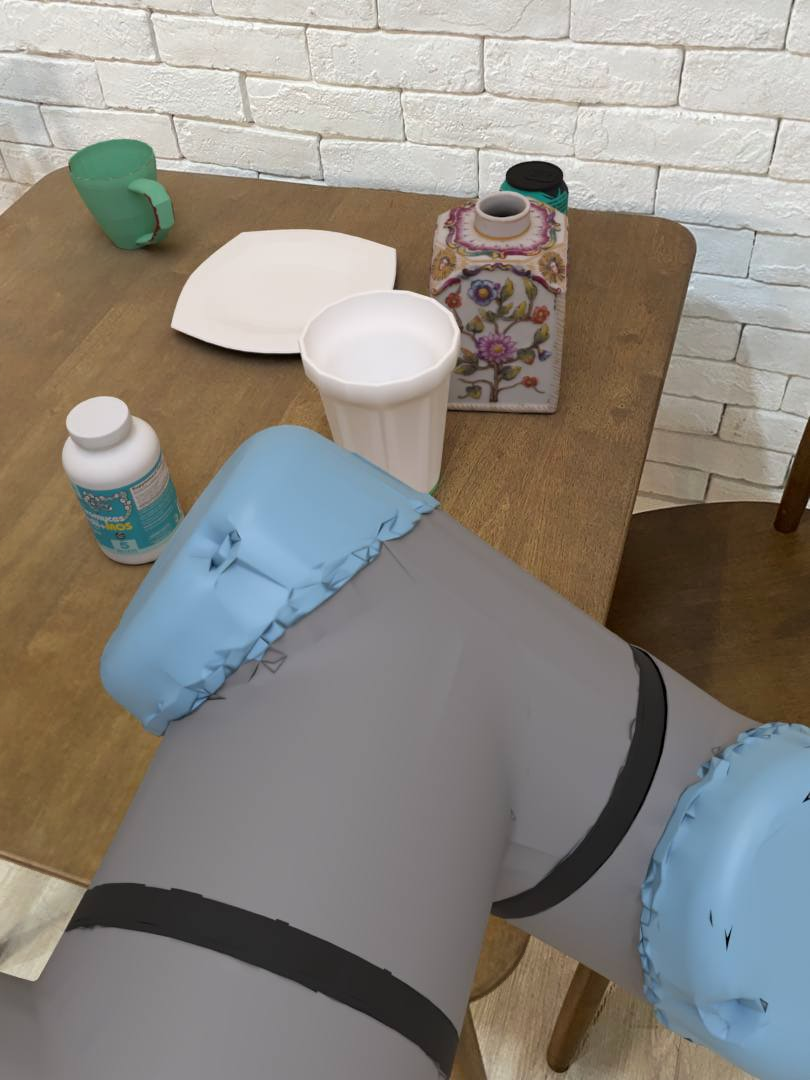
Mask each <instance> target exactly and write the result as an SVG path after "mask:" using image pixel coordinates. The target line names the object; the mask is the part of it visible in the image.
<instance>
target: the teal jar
mask: <svg viewBox="0 0 810 1080" xmlns="http://www.w3.org/2000/svg"><path fill="white" fill-rule="evenodd" d="M499 191H511V192H517V193H519V194H521V195H523V196H528V197H532V198H534V199H536V200H538V201H541V202H544V203H546V204H548V205H549V206H551V207H553V208H555V209H557V210H558V211H559V212H561V213H562V214H564V215H566V216H567V217H568V210H569V197H570V191H569V187H568V185H567V183H566V181H565V180H564V171H563V169H562V168H561V167H559V166H558V165H556V164H554V163H552V162H549V161H544V160H543V161H542V160H526V161H522V162H519V163H515V164H514V165H512V166H510V167H509V168H508V169H507V170H506V172H505V179H504V180H503V182H502V184H501V185H500V186H499V190H498V192H499Z"/></svg>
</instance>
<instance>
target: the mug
mask: <svg viewBox="0 0 810 1080" xmlns="http://www.w3.org/2000/svg"><path fill="white" fill-rule="evenodd" d="M67 164H68V167H67V172H68V175H69V178H70V180H71V182H72V183H73V186H74V187H75V190H76V191H77V193H78V194H79V196H80V198H81V199H82V201H83V203H84V204H85V206H86V207H87V209H88V211H89V213H90V214H91V215H92V216H93V218H94V219H95V221H96V222H97V224H98V225H99V226H100V228H101V229H102V231H104V233H105V234H106V235H107V236H108V237H109V239H110V240H111V241H112V242H113V244H114V245H115V246H116V247H117V248H119V249H122V250H136V249H137V250H138V249H141V248H144V247H146V246H147V245H156V244H159V243H162V242H164V241H165V240H166V238H167V237H168V236H169V233H170V231H171V229H172V228H173V225H174V223H175V222H176V216H175V210H174V205H173V200H172V197H171V196H170V194H169V192H168V190H167V189H166V187H165V186H164V185H163V184H161V183H159V182H158V171H157V159H156V155H155V151H154V148H153V146H151V145H150V144H148V143H147V142H145V141H143V140H139V139H134V138H133V139H132V138H115V139H114V138H113V139H108V140H102V141H99V142H96V143H93V144H89V145H87V146H85V147H83V148H82V149H79V150H78V151H76V152H75V153H74V154H73V155H72V156H70V157H69V160H68V162H67Z"/></svg>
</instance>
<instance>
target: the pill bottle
mask: <svg viewBox="0 0 810 1080" xmlns="http://www.w3.org/2000/svg"><path fill="white" fill-rule="evenodd" d="M65 426H66V429H67V432H68V435H69V436H68V437H67V439H66V441H65V442H64V445H63V448H62V452H61V463H62V467H63V469H64V472H65V474H66V476H67V478H68V480H69V482H70V485H71V487H72V489H73V491H74V494H75V496H76V498H77V499H78V503H79V504H80V507H81V509H82V511H83V513H84V516H85V518H86V520H87V523H88V524H89V526H90V529H91V530H92V534H93V535H94V538H95V540H96V542H97V544H98V547H99V549H100V550H101V552H103V554H104V555H105V556H107V557H108V558H109V559H111V560H112V561H115V562H117V563H120V564H125V565H143V564H148V563H151V562H155V561H156V560H157V558H158V557H159V555H160V554H161V552H162V551H163V549H164V548H165V546H166V545H167V543H168V542H169V540H170V539H171V537H172V536H173V534H174V533H175V531H176V530H177V528H178V527H179V525H180V524H181V522H182V521H183V519H184V518H185V515H184V511H183V509H182V505H181V502H180V499H179V497H178V493H177V490H176V488H175V485H174V482H173V479H172V476H171V473H170V470H169V467H168V464H167V461H166V458H165V455H164V452H163V449H162V446H161V444H160V441H159V438H158V434H157V433H156V431H155V429H154V428H153V427H152V426H151V425H150V424H149V423H148V422H147V421H145V420H143V419H142V418H140V417H138V416H134V415H131V411H130V409H129V407H128V404H126V402H124V401H123V400H122V399H120V398H118V397H116V396H115V397H114V396H110V395H109V396H108V395H104V396H103V395H100V396H96V397H91V398H88V399H86V400H83V401H81V402H80V403H78V404H77V405H75V406H74V407H73V408H72V409H70V412H68V414H67V416H66V419H65Z"/></svg>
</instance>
